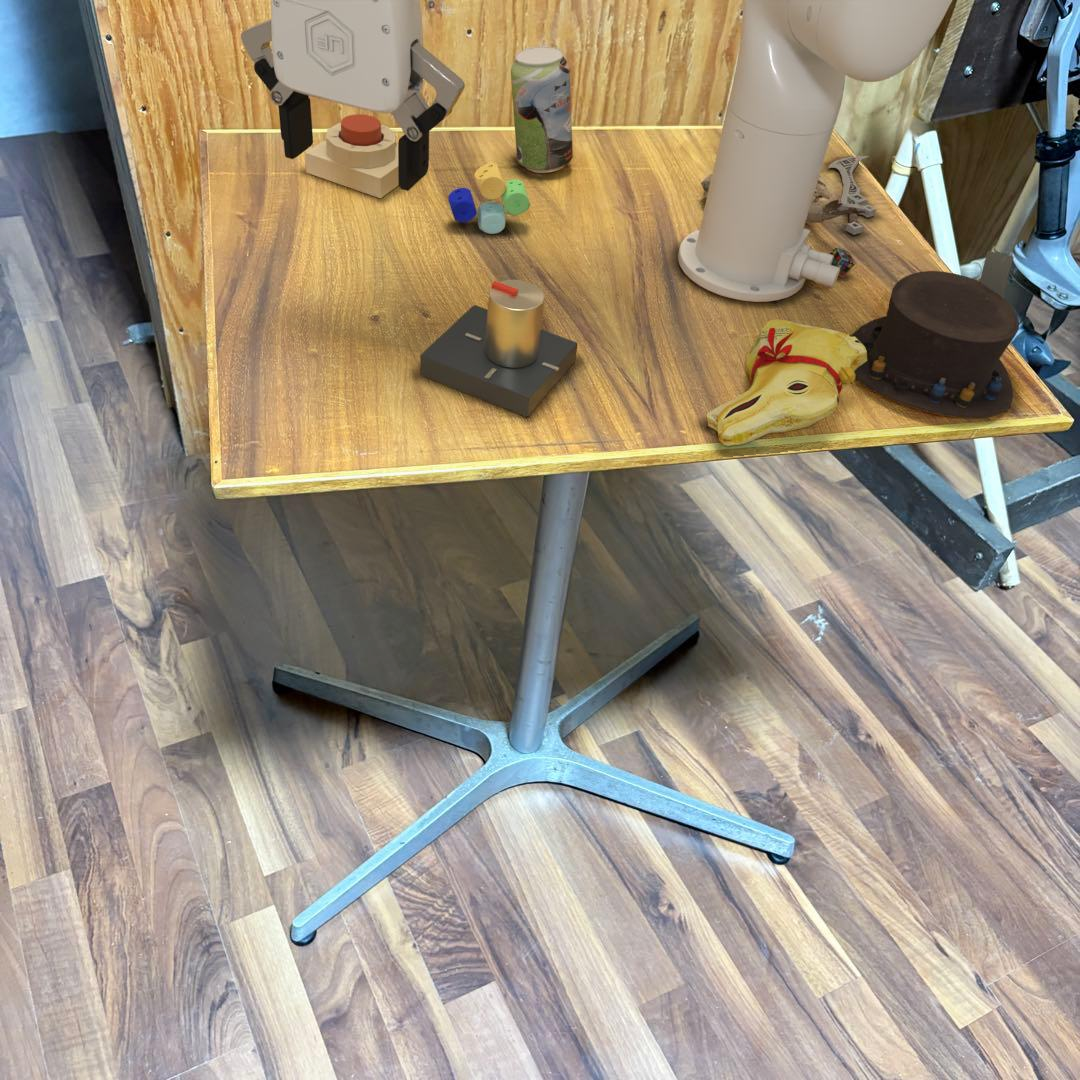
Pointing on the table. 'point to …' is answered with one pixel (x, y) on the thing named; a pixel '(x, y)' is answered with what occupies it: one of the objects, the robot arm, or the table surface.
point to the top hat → (944, 343)
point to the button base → (356, 162)
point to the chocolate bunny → (789, 381)
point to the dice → (490, 188)
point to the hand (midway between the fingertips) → (355, 167)
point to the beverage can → (542, 109)
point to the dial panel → (495, 365)
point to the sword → (852, 193)
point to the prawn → (826, 213)
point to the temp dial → (514, 323)
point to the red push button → (360, 130)
